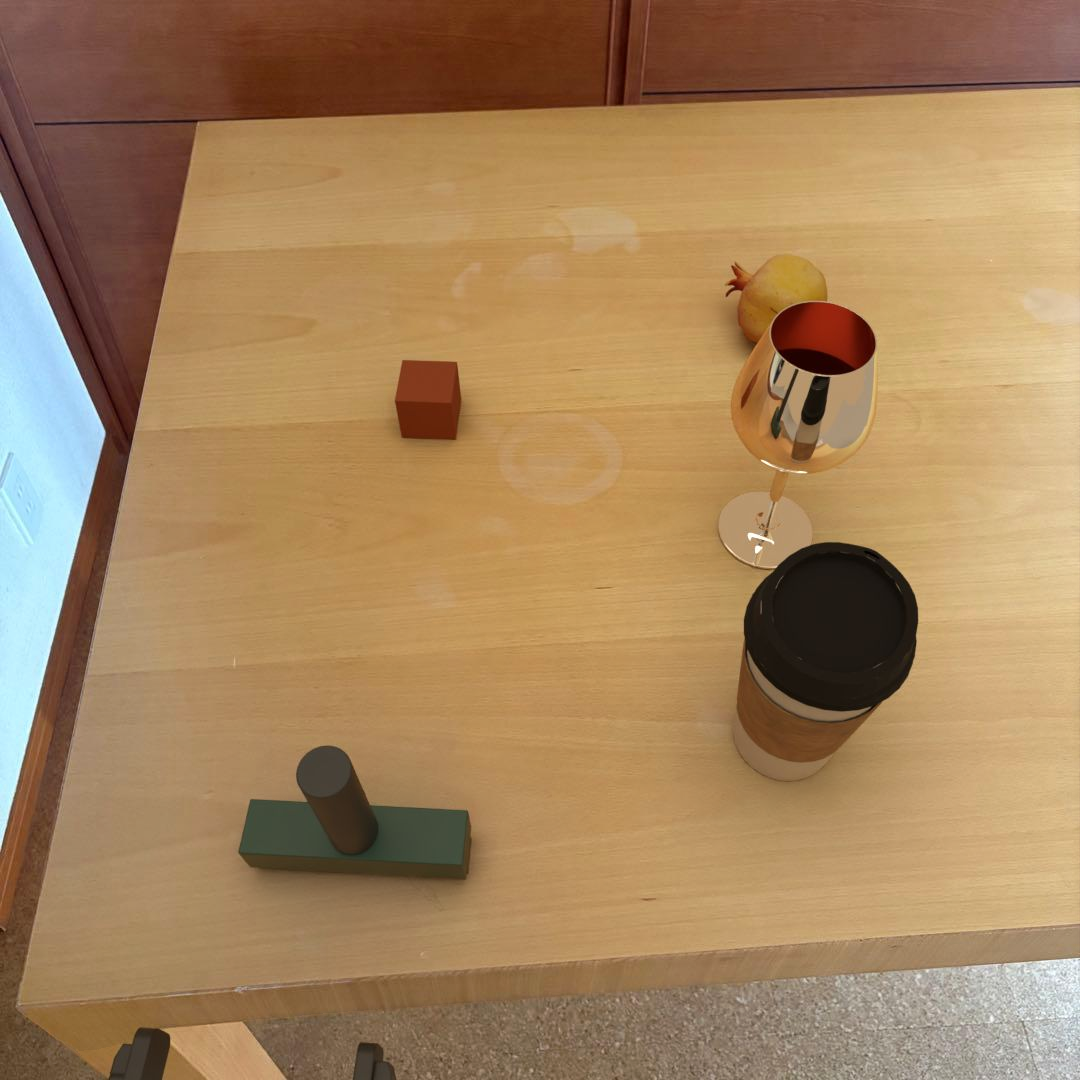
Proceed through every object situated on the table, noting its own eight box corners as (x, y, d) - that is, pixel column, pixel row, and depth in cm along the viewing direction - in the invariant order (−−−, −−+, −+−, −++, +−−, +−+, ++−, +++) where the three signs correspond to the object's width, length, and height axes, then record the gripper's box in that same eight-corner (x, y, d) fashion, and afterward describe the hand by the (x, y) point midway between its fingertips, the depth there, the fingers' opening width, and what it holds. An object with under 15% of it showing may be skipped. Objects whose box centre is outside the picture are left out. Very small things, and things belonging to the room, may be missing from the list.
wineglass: (691, 492, 71) (727, 296, 56) (802, 474, 72) (868, 276, 57) (724, 589, 66) (773, 404, 51) (843, 569, 67) (925, 381, 52)
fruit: (877, 275, 75) (762, 219, 78) (837, 307, 71) (717, 246, 74) (842, 351, 80) (736, 296, 83) (804, 386, 75) (692, 325, 79)
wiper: (253, 872, 56) (188, 795, 46) (264, 819, 58) (205, 734, 48) (467, 883, 56) (448, 809, 46) (472, 830, 57) (455, 747, 48)
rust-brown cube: (401, 437, 74) (394, 400, 71) (408, 397, 76) (402, 359, 73) (455, 439, 74) (451, 402, 71) (461, 399, 76) (457, 361, 73)
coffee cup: (876, 716, 61) (958, 586, 49) (815, 831, 57) (887, 721, 45) (752, 648, 64) (799, 508, 51) (685, 752, 60) (720, 628, 48)
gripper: (362, 1711, 26) (435, 1032, 36) (-162, 1662, 27) (42, 1008, 36) (399, 1621, 33) (453, 1062, 42) (-29, 1583, 33) (117, 1041, 42)
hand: (262, 1037), depth 39 cm, fingers open, 8 cm apart
